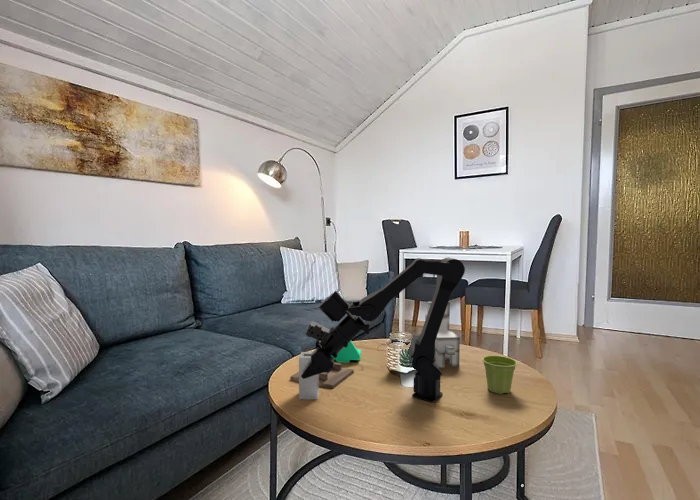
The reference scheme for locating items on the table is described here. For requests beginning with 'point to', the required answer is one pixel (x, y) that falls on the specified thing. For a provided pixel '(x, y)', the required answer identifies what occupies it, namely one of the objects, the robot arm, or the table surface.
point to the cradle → (330, 376)
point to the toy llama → (446, 342)
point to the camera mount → (348, 353)
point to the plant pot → (499, 373)
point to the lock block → (307, 379)
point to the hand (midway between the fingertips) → (304, 371)
